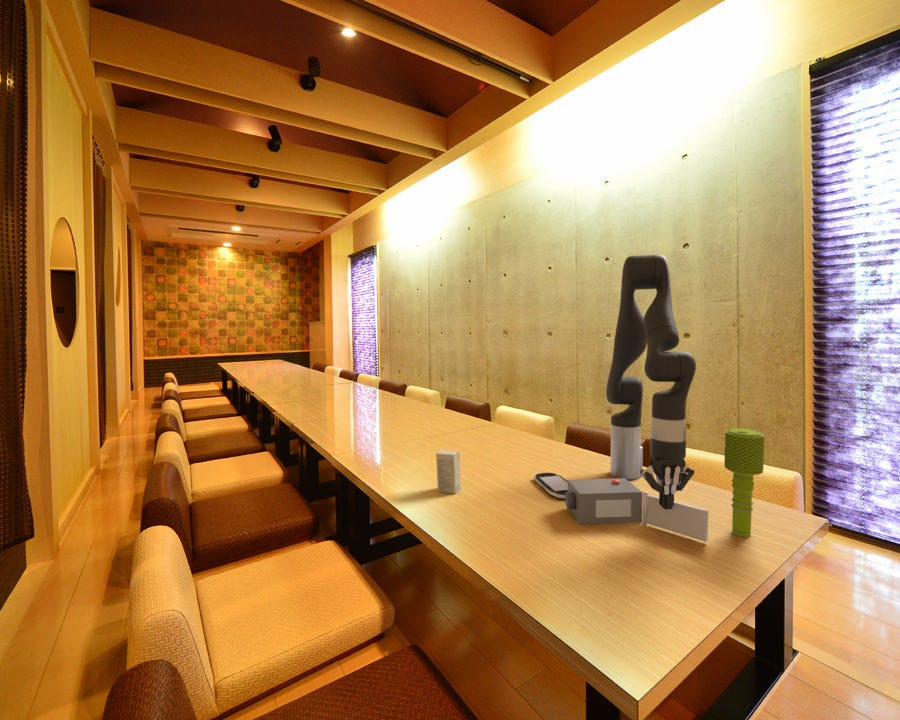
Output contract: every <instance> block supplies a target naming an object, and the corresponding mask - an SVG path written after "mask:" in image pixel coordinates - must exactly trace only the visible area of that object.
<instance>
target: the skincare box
mask: <svg viewBox="0 0 900 720" xmlns="http://www.w3.org/2000/svg"><path fill="white" fill-rule="evenodd" d="M435 455H436V457H435V459H436V480H437V492H438V493H447V494H453V495H456V494H457V493H458V492H460V491H461V489H462V487H461V483H462V482H461V465H460V462H461V461H460V451H459V450H445V449H441V450H439V451H437V452H436V453H435Z"/></svg>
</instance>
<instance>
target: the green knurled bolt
mask: <svg viewBox="0 0 900 720" xmlns="http://www.w3.org/2000/svg"><path fill="white" fill-rule="evenodd" d="M724 435H725V437H724V459H723V460H724V461H723V463H724V464H723V465H724V468H725V469H726V470H727V471H729V472H732V480H731V483H732V484H731V486H732V489H733V491H732V492H731V493H732V495H733V497H732V498H731V501H732V503H731V507H732V518H731V519H732V522H731V524H732V525H731V527H732V529H731V532H732V533H733V534H734V535H736V536H739V537H742V538H743V537H744V538H749V537H751V534H752V532H751V530H752V512H753V510H754V508H753V504H754V502H753V499H752V498H753V497H754V495H753V491H754V489H755V487H754V486H755V482H754V476H757V475H761V474H763V473H764V459H765V436H766V435H765V434H764V433H762V432H760V431H757V430H754V429H748V428H731V429H728V430H725V433H724Z"/></svg>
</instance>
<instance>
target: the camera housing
mask: <svg viewBox="0 0 900 720" xmlns="http://www.w3.org/2000/svg"><path fill="white" fill-rule="evenodd" d="M567 481H568V492H566V494H565V500H564V502H565V507H566V509H567V510H568V511H569V512H570V513H571V515H572V516H573V518H575V520H576V521H577V524H579V526H580V525H585V526H586V525H607V524H609V525H611V524H641V523H642V524H643V491H642V490H641V489H639V488H638V487H637V486H636V485H634V483H632V482H631V481H629V479H625V478H617V477H615V478H592V479H591V478H588V479H586V478H585V479H567Z"/></svg>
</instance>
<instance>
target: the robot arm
mask: <svg viewBox="0 0 900 720" xmlns="http://www.w3.org/2000/svg"><path fill="white" fill-rule="evenodd" d="M621 273H622V275H621V288H620V301H619V309H618V310H619V312H618V315H617V323H616V328H615V334H614V341H613V353H612V360H611V365H610V369H609V373H608V379H607V383H606V392H605V393H606V394H605V395H606V400H607V402H608V403H610V404H612V405H622V406H623V405H624V406H626V405H627V406H628V407H627V408H626V409H625V410H622V411H620V412H617V413H613V415H611V418H610V475H611V476H613V477H614V478H625V479H627V480H638V479H639V478H640V477H642V478H643V479H644V480H645V481H646V482H647V484H648V485H649V486H650V488H651V489H653V491H656V492H658V493H659V495H658V497H659V504H660V505H661V507H662V508H664V509H665V510H667V509H672V507H673V505H674V501H675V494H676V492H678V491H679V492H682V491H683V489H684V488H685V487H686V486H687V484H688V483H689V481H690V480H691V479H692V477H693V476H694V475H695V470H694V469H692V468H691V467H689V466H687V465H686V464H687V463H686V460H685V458H686V456H687V422H686V421H687V420H686V413H687V412H686V411H687V409H686V408H687V399H688V395H689V392H690V388H691V385H692V383H693V381H694V377H695V373H696V370H697V364H696V359H695V358H694V356H693V354H692V353H691V352H687V351H671V350H673V349H676V347H678V345H679V343H680V336H679V331H678V327H677V323H676V321H675V316H674V311H673V301H672V300H673V299H672V287H671V286H672V285H671V276H670V275H671V274H670V267H669V263H668V261H667V258H666V257H665V256H664V255H661V254H648V255H647V254H646V255H645V254H643V255H631V256H630V255H629V256H628V257H626V258H625V261H624V263H623V267H622V272H621ZM636 290H656V294H655V297H654V299H653V301H652V302H651V303H650V305H649V306H648V308H647V310H646V312H645V314H644V315H643V314H642V313H643V312H641V310H640V308H639V307H638V304H637V302H636V299H635V292H636ZM645 350H646V356H645V362H644V368H643V369H644V374H645V376H646V378H648V379H649V380H650V381H652V382H656V383H668V382H669V383H673V385H672V387H670V388H669V389H666V390H662V391H657V392H655V393H653V394H652V401H651V419H650V420H651V422H650V429H649V430H650V436H649V440H650V441H649V453H650V457H651V458H650V460H649V462H648V465H649V466H648V467H647V468H646V469H644V468H643V464H644V463H643V459H644V458H643V456H644V454H643V453H644V449H643V446H641V445H642V444H641V443H642V442H641V441H642V440H641V439H642V438H641V436H642V435H641V431H642V429H641V427H642V413H643V412H642V411H643V409H642V408H643V396H644V395H643V394H644V386H643V382H642V379H641V378H640V377H638V376H624V374H625V373H626V371H628V369H629V368H630V367H631V366H632V365H633V363H635V362H636V361H637V360H638V359H639V358H640V357H641V356H642V355H643V354H644V352H645ZM654 477H655V478H654Z"/></svg>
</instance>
